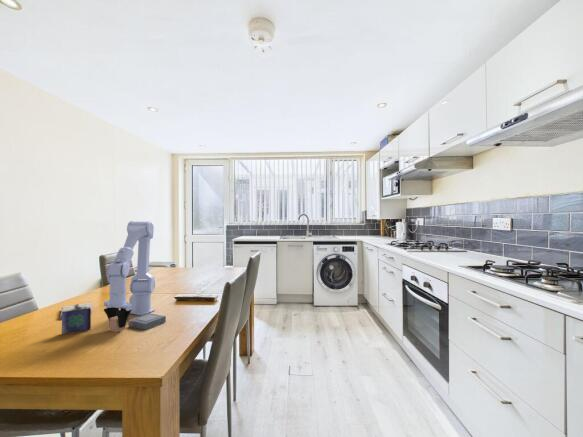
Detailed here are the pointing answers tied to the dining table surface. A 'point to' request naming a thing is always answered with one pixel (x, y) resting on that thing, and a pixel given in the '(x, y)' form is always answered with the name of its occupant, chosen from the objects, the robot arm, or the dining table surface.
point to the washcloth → (74, 308)
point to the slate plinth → (147, 321)
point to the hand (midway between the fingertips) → (117, 325)
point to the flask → (76, 319)
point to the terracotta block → (115, 324)
